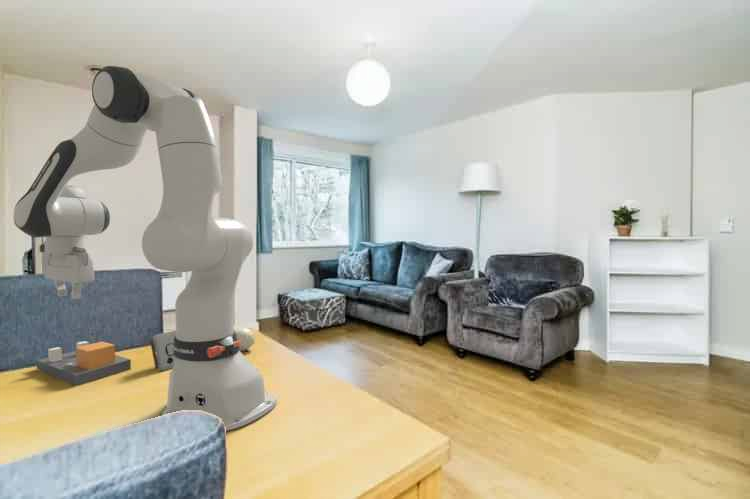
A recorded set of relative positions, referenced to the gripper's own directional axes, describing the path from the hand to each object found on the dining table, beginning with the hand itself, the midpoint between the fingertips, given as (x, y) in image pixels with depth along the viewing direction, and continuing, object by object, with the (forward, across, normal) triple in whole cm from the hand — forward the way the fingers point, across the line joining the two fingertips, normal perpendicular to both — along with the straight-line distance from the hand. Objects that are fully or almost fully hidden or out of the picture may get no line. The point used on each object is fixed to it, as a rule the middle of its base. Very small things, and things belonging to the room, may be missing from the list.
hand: (69, 297), depth 102 cm
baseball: (+17, -34, -29) cm, 48 cm away
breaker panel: (+17, -12, +2) cm, 21 cm away
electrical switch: (+18, -28, -11) cm, 34 cm away
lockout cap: (+15, -18, +2) cm, 23 cm away
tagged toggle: (+15, -6, 0) cm, 16 cm away
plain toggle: (+15, -6, +6) cm, 17 cm away
